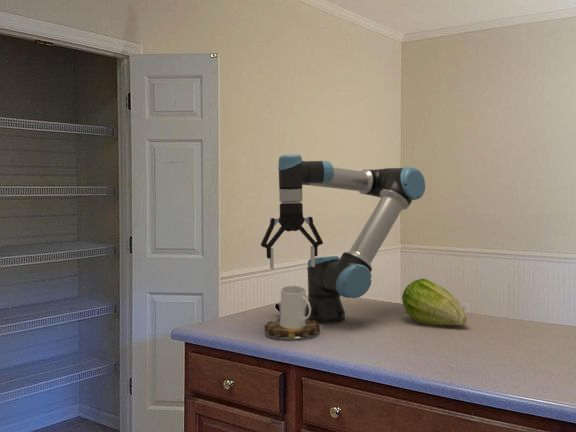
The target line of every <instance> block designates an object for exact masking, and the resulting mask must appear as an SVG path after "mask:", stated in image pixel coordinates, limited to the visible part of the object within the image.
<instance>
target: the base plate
mask: <svg viewBox="0 0 576 432" xmlns="http://www.w3.org/2000/svg"><path fill="white" fill-rule="evenodd" d="M320 335H321V329H320V330H318V333H316V334H312V333H311V334H309V336H304V337H303V336H295V337H289V336H281V337H278V336H275V335H274V334H270V335H269V334H267V333H266V331H265V330H264V336H265V337H266V338H268V339H271V340H275V341H276V340H277V341H284V342H285V341H287V342H288V341H290V342H293V341H295V342H296V341H297V342H298V341H305V340H311V339H314V338H316V337H318V336H320Z"/></svg>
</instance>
